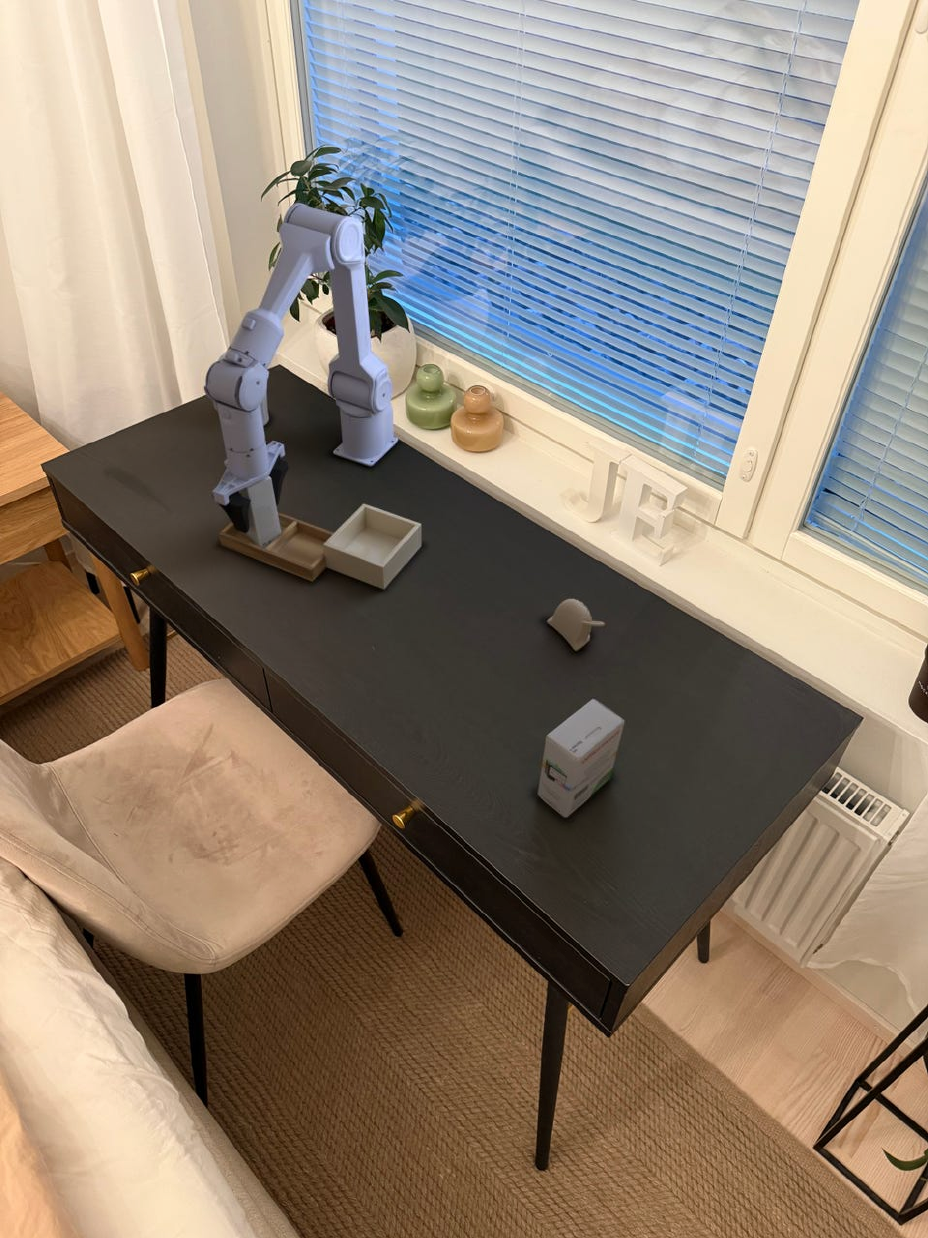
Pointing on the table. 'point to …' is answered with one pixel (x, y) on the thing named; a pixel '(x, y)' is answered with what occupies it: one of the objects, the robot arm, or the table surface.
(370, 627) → the table surface
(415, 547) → the basin
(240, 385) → the robot arm
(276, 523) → the cosmetic box
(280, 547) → the tray
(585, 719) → the ink box
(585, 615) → the decorative ornament
